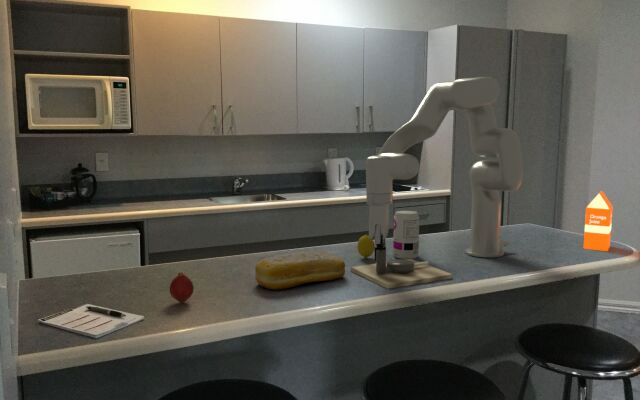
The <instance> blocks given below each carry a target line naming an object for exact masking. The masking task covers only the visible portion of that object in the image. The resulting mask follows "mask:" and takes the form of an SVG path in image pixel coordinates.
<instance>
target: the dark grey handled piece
mask: <svg viewBox="0 0 640 400" xmlns="http://www.w3.org/2000/svg"><path fill="white" fill-rule="evenodd" d="M386 262H387V266H386ZM418 262H419V263H414V262H412V261H408V260H406V259H391V260H388V261H387V249H386V250H383V249H379V250H376V261H375V264H376V273H380V274H383V273H386V272H398V273H406V272H412V271H414V267H415V266H421V265H430V262H429V261H427V260H426V261H425V260H424V261H418Z"/></svg>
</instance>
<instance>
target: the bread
mask: <svg viewBox="0 0 640 400" xmlns="http://www.w3.org/2000/svg"><path fill="white" fill-rule="evenodd" d="M254 270H255V271H254V272H255V275H254V278H255V281H256V282H257V284H258V285H259V286H260V287H264V288H265V289H268V290H284V289H290V288H293V287H297V286H300V285H304V284H308V283H312V282H313V283H314V282H316V283H317V282H318V283H319V282H325V281H327V282H329V281H333V280H334V281H335V280H339V279H342V277H344V276H345V275H346V274H345V273H346V262H345V260H343V259H342V258H340V257H339V256H336V255H334V254H332V253H329V252H316V251H299V252H292V253H284V254H278V255H273V256H271V257H266V258H263V259H261V260H260V261H257V263H256V264H255V269H254Z"/></svg>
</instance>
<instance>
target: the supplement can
mask: <svg viewBox="0 0 640 400" xmlns="http://www.w3.org/2000/svg"><path fill="white" fill-rule="evenodd" d="M392 237H393V244H392V245H393V246H392V247H393V249H392V250H393V251H392V254H393V256H394V257H395V258H397V259H398V260H406V259H413V260H415V259H416V258H417V257H418V256H419V240H420V216H419V214H418V211H415V210H398V211H397V210H396V211H395V213H394V215H393V236H392Z"/></svg>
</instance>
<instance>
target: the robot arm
mask: <svg viewBox="0 0 640 400" xmlns="http://www.w3.org/2000/svg"><path fill="white" fill-rule="evenodd" d="M499 96H500V84H499V82H498V81H497V80H496V79H495V78H493V77H492V76H478V77H464V78H457V79H454V80H452V81H442V82H436V83H434V84H433V85H431V86H430V87H429V89H428V90H427V93H426V94H425V96H424V97H423V99H422V101H421V102H420V104H419V105H418V107H417V109H416V110H415V112H414V113H413V115H412V117H411V119H410V120H408V121H407V122H406V123H405V124H403V125H402V126H401V127H400V128H398V129H397V130H396V131H395V132H394V133H392V134H391V135H390V136H389V137H388V138H387V139H386V141H385V142H384V143H383V145H382V147H381V148H380V150H379V152H378V153H377V154H376V155H370V156H368V157H367V158H366V159H365V180H366V182H365V184H366V185H365V188H366V191H365V192H366V193H365V194H366V195H365V196H366V205H369V211H368V212H369V213H368V236H369V238H370V239H373V238H374V261H375V262H376V250H379V249H383V250H386V251H387V246H386V238H387V237H388V234H389V228H390V227H389V226H390V225H389V224H390V212H389V211H390V208H389V207H390V205H393V204H394V203H393V201H394V200H393V199H394V197H393V181H394V180H403V181H404V180H411V179H412V178H414V177H416V176H417V174H418V173H419V170H420V162H419V160H418V158H417V157H415V156H414V155H413V154H409V153H405V152H406V151H407V150H408V149H409V148H411V147H413V146H414V145H416V144H419V143H422V142H424V141H426V140H429V139H430V138H432V137H434V136H435V135H436V134H437V132H438V130H439V128H440V127H441V124H443V122H444V120H445V118H446V116H447V115H448V113H449V112H450V111H464V113H465V115H466V117H467V121H468V122H467V123H468V129H469V138H470V146H471V147H470V148H471V151H472V153H473V154H474V155H476V156H478V157H482V158H490V159H491V160H490V159H484V160H483V159H482V160H478V161H476V162H475V163H473V164H472V165H471V167H470V170H469V182H470V188H471V213H470V214H471V215H470V216H471V217H470V241H469V242H470V244H469V245H470V246H468V247H466V248H465V250H464V251H465V254H466V255H469V256H473V257H478V258H490V259H491V258H492V259H493V258H500V257H503V256H504V255H505V250H503V249H502V248H503V247H509V246H510V245H511V242H510V240H501V222H502V221H501V219H502V199H501V196H500V193H499V192H500V191H501V192H508V193H509V192H516V191H517V190H518V189H519V188H521V185H522V183H523V178H524V169H523V158H522V146H521V140H520V138H519V135H518V134H517V132H516V131H514V130H513V129H511V128H505V127H502V128H501V127H500V128H499V127H498V125H497V119H496V114H495V109H494V108H493V104H494V103H495V102H496V101H497V99H498V98H499ZM493 158H494V159H497V160H492V159H493Z"/></svg>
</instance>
